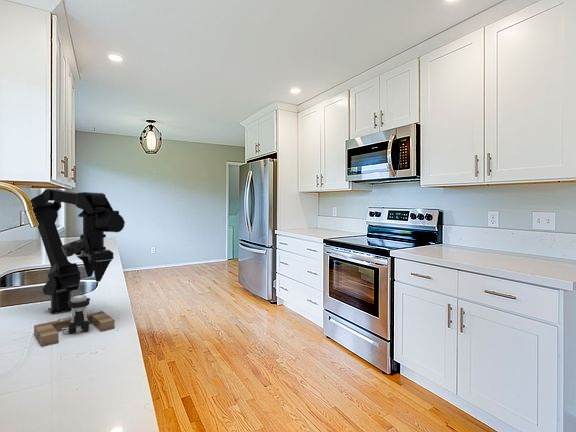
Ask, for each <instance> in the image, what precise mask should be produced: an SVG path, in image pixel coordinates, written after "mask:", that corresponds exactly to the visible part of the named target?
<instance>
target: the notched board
mask: <svg viewBox="0 0 576 432" xmlns="http://www.w3.org/2000/svg"><path fill="white" fill-rule="evenodd" d="M87 318H88V320H89V325H93V326H94V327H95V328H97V330H98V331H100V332H101V333H102V332H106V331H109V330H113V329H115V325H116V324H115V323H116V322H115V319H114V318H113V317H112V316H110V315H109V314H107V313H106V312H104V311H103V310H100V311H97V312H91V313H87ZM57 319H58V320H54V321H49V322H44V323H39V324H34V325H33V335H34V337H35V338H36V340H37V341H38V343H39V344H40V346H41V347H45V346H49V345H53V344H54V345H55V344H58V343H59V342H60V341H59V340H60V339H59V338H60V337H59V332H63V331H69V329H63V330H62V328H68V327H69V324H70V321H71V320H72V315H70V316H67V317H61V318H57ZM74 322H75V321H74Z"/></svg>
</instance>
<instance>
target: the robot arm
mask: <svg viewBox="0 0 576 432" xmlns="http://www.w3.org/2000/svg"><path fill="white" fill-rule="evenodd" d="M30 201H31V203H32V207H33V211H34V213H35V216H36V219H37V221H38V223H39V226H38V227H37V229H38V232H39V235H40V237H41V238H40V239H41V241H42V243H43V244H42V245H43V247H44V249H45V253H46V256H47V260H48V262H49V264H50V268H49V271H48V274H47V277H48V278H47V279H48V281H47V282H46V283H45V285H44V286H43V287H42V292H43V295H45V296H50V307H48V308H47V310H48V312H49V313H50V314H52V315H53V314H58V313H64V312H70V311H72V308H69V304H68V301H69V300H71V298H72V297H73V296H72V291H77V290H79V286H80V283H81V278H82V277H81V274H82V273H81V271H80V270H79V266H78V264H77V263H72V262H71V261H69V259H68V257H71V256H74V255H75V256H76V257H77V258H78V259H79V260H81V261H82V264H83V267H84V270H85V272H86V275H87V277H88V278H91V277H92V276H93V273H94V277H95V282H97V283H98V282H101V280H103V277H104V275H105V273H106V271H107V269H108V267H109V265H110V263H111V262H112V261H113V260H114V252H113V251H111V250H110V249H107V247H106V246H104V245H105V243H104V242H105V241H104V240H105V239H104V238H107V237H106V236H107V234H106V233H120V232H121V231H122V230H124V228H125V225H126V222H125V220H124V217H123V216H122V215H121V214H120V211H119V210H114V209H113V207H112V205H111V203H110V202H109V200H108V198H107V197H106V193H103V192H91V191H90V192H88V191H83V192H74V191H68V190H62V189H61V188H46V189H44V190H43V191H42V193H41V194H38V195H37V196H34V197H32V198H31V199H30V200H29V202H30ZM51 201H53V202H51ZM62 203H64V204H69V205H74V206H76V208H78V209H80V210H82V211H81V212H80V213H79V214H78V216H77V217H79V218H82V234H80V235H79V236H80V237H79V239H77V240H73V241H71V242H68V243H66V244H63V243H62V239H61V237H60V234H59V231H58V230H59V229H58V227H57V224H56V222H57V220H58V217H59V213H58V211H59V210H60V209H61V208H62ZM24 213H25V214H26V211H25V210H24Z"/></svg>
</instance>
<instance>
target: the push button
mask: <svg viewBox="0 0 576 432" xmlns="http://www.w3.org/2000/svg"><path fill="white" fill-rule="evenodd" d="M90 301H91V298H90V297H87V294H86V295H85V294H80V295H74V296H72V298H71V300H69V301H68V304H69V308H72V310H71V316H72V320H71V321H70V324H69V327H68V328H62V330H63V329H68V330H63V331H61V333H62V334H63V333H68V334H69V335H71V334H81V333H88V332H89V331H90V324H89V320H88V318H87V314H88V313H87V311H88V310H87V307H88V306H89V304H90ZM74 321H75V322H74Z"/></svg>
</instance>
